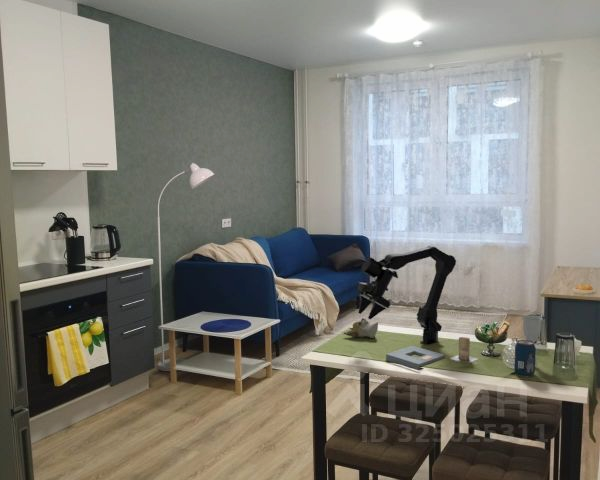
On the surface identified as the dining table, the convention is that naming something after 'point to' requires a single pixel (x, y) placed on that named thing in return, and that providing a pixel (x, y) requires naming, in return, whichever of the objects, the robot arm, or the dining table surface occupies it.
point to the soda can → (525, 358)
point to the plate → (464, 360)
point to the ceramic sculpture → (363, 329)
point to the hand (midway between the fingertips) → (364, 316)
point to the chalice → (532, 328)
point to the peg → (464, 348)
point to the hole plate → (412, 362)
